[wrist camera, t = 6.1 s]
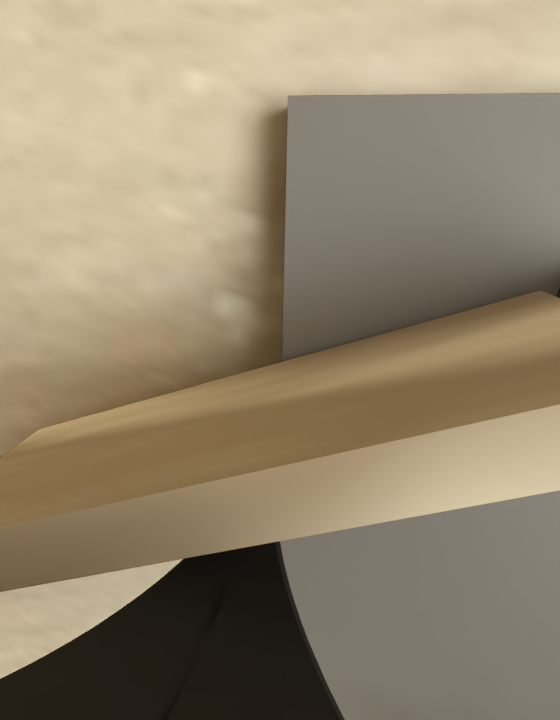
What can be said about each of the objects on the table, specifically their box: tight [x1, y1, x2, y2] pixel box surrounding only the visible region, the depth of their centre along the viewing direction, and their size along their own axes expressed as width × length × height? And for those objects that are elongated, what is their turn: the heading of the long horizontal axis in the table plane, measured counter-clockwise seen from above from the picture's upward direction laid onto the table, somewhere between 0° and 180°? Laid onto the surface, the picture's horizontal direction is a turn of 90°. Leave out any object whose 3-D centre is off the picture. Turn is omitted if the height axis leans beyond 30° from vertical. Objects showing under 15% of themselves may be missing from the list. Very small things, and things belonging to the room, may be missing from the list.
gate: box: [0, 290, 560, 592], centre depth 9 cm, size 1×13×5 cm, turn 109°
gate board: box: [280, 93, 560, 720], centre depth 13 cm, size 15×24×1 cm, turn 179°
